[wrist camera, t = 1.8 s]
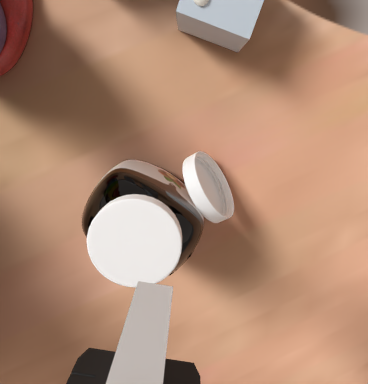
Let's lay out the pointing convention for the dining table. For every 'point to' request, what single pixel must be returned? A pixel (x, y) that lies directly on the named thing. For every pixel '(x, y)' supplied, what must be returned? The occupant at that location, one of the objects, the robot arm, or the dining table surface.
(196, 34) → the pip block three
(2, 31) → the stacking bear
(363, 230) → the dining table surface
